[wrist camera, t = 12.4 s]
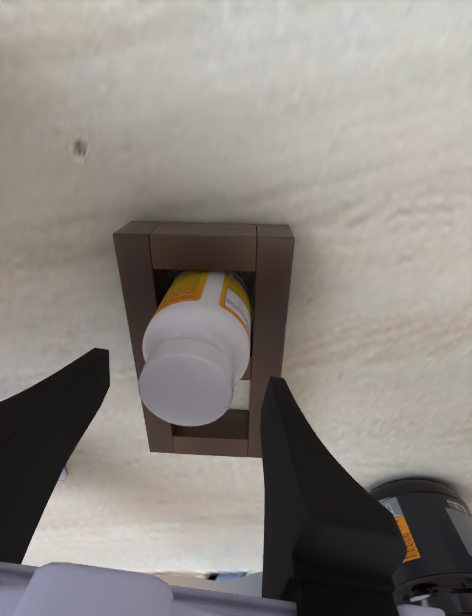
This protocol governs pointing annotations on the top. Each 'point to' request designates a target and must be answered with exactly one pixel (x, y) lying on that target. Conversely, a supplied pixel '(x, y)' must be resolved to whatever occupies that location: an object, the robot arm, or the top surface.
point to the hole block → (265, 324)
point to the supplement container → (431, 545)
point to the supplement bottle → (196, 347)
